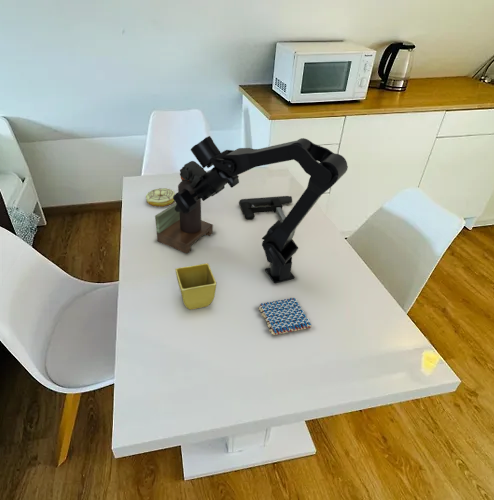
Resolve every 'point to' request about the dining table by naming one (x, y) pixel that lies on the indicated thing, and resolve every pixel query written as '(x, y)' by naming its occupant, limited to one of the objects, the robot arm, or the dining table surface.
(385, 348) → the dining table surface
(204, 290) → the flower pot
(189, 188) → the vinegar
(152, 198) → the yellow flat round disc
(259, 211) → the black toy gun
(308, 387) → the dining table surface
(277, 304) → the woven mat
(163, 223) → the brown wooden stand
